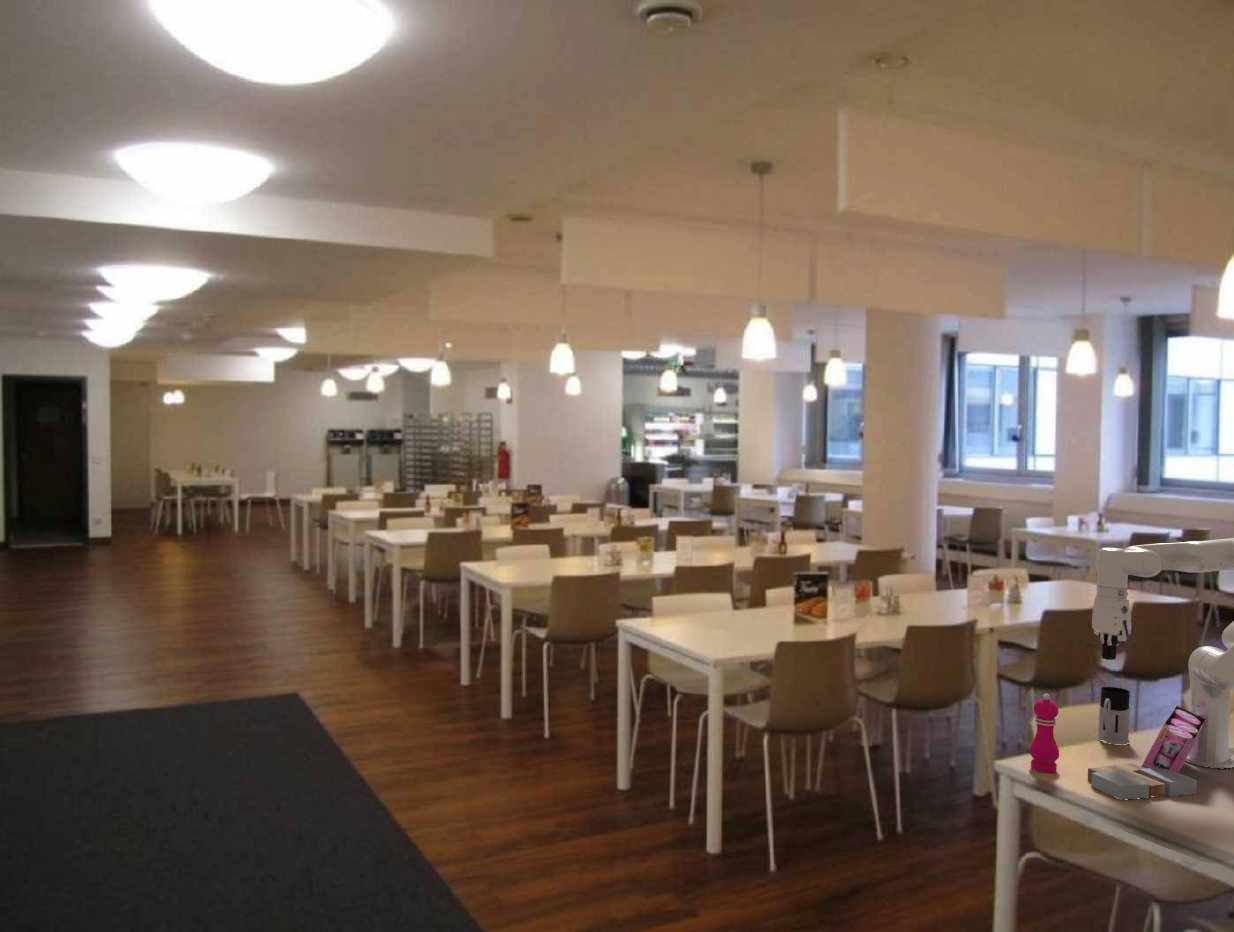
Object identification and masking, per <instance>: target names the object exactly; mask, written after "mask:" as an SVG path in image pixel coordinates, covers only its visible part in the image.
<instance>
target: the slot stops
mask: <svg viewBox="0 0 1234 932" xmlns="http://www.w3.org/2000/svg"><path fill="white" fill-rule="evenodd" d="M1139 774H1141V775H1144V776H1146V777H1149V778H1151V779H1154V780H1156V781H1159V782H1161V783H1164V784H1165V794H1166V795H1165V796H1168V797H1170V796H1171V797H1180V796H1179V795H1183V796H1190V795H1191V796H1192V794H1194V795H1197V788H1198V786H1197V784H1198V780H1197V779H1195V778H1193V777H1190V776H1187V775H1184V774H1182V773H1180V772H1175V771H1172V770H1168V769H1164V768H1146V769H1139ZM1090 782H1091V784H1090V787H1091V786H1092V787H1091V788H1093V789H1095V788H1098V789H1100V790H1101V791H1100V790H1099V791H1100V792H1102V791H1103V792H1102V793H1104V792H1105V793H1104V794H1106V793H1107V794H1106V795H1108V794H1109V796H1110V795H1111V796H1110V797H1112V796H1115V797H1117V798H1119V799H1121V800H1125V799H1137V798H1147V797H1149V784H1147V783H1145V782H1143V781H1141V780H1138V779H1136V778H1134V777H1131V776H1129V775H1127V774H1124V773H1122V772H1120V771H1108V772H1095V773H1092V778H1091V781H1090ZM1117 798H1116V799H1117ZM1149 798H1150V797H1149ZM1119 799H1118V800H1119ZM1121 800H1120V801H1121ZM1137 800H1138V799H1137ZM1125 801H1126V800H1125Z"/></svg>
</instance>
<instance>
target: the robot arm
mask: <svg viewBox="0 0 1234 932" xmlns="http://www.w3.org/2000/svg"><path fill="white" fill-rule="evenodd" d="M1096 569H1097V571H1096V572H1097V574H1096V595H1095V597H1094V601H1093V608H1092V616H1091V628H1092V630H1093V633H1094V635H1096V636H1097V637H1098V638H1099V639H1100V644H1102V648H1101V649H1102V650H1101V658H1102V659H1103V660H1106V661H1107V660H1108V661H1110V660H1111V661H1112V660H1116V659H1117V646H1119V644H1120V642H1126V641H1127V636H1130V635H1131V634H1132V613H1131V612H1132V611H1131V606H1130V605H1131V604H1130V601H1129V599H1127V598H1128V596H1129V592H1128V579H1129V578H1128V577H1129V575H1130V576H1136V577H1142V578H1151V577H1155V576H1157V575H1159V573H1160V572H1161V571H1177V572H1178V571H1179V572H1183V573H1184V572H1185V573H1195V574H1196V573H1209V572H1219V571H1233V570H1234V537H1230V538H1219V539H1211V540H1209V539H1208V540H1199V541H1196V540H1195V541H1184V542H1170V543H1169V542H1168V543H1167V542H1166V543H1165V542H1164V543H1150V544H1149V543H1148V544H1139V545H1130V546H1127V547H1126V548H1118V547H1102V548H1099V551H1098V553H1097V568H1096ZM1221 641H1222V643H1223V646H1224V647H1225V648H1226V649H1227V650H1224V649H1221V648H1218V647H1215V646H1211V645H1205V646H1200V647H1197V648H1196V649H1194V651H1192V653H1191V654H1190V656H1189V659H1188V673H1189V674H1188V675H1189V682H1190V699H1189V711H1190V712H1192V713H1194V714H1196V715H1198V716H1200V717H1202V718H1204V719H1206V721H1205V723H1204V725H1203V727H1202V729H1201V731H1200V733H1199V735H1198V737H1197V739H1196V741H1195V743H1194V745H1193V747H1192V748H1191V750H1190V752H1189V754H1188V756H1187V758H1186V760H1185V762H1186V761H1187V763H1189V762H1190V763H1189V764H1191V763H1192V765H1194V764H1195V765H1194V766H1199V767H1202V766H1207V767H1212V768H1211V769H1215V768H1220V769H1219V770H1225V769H1224V768H1227V769H1226V770H1229V769H1228V768H1230V769H1233V768H1234V759H1232V757H1233V756H1234V747H1231V746H1230V726H1231V709H1232V695H1231V691H1234V620H1233V621H1232V622H1231V623H1229V625H1227V627H1225V628H1224V629H1223V632H1222V635H1221ZM1207 767H1206V768H1207ZM1232 767H1233V768H1232Z"/></svg>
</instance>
